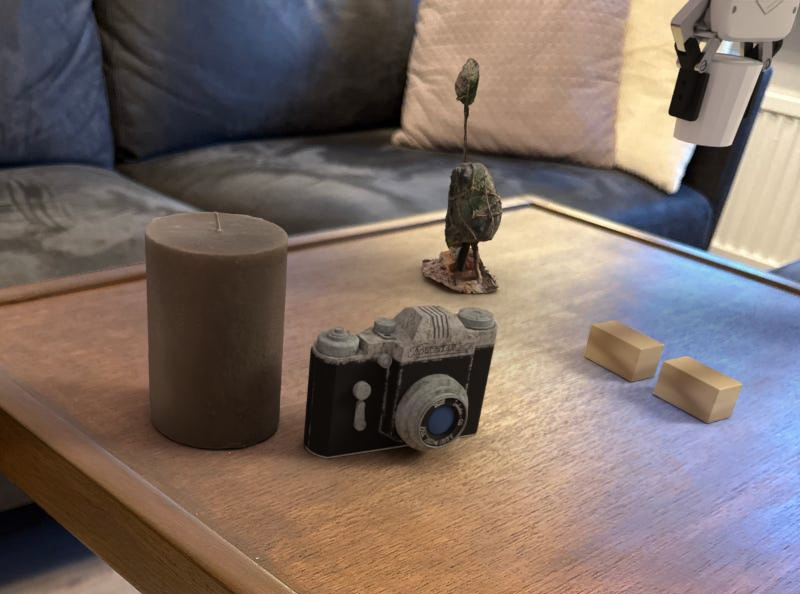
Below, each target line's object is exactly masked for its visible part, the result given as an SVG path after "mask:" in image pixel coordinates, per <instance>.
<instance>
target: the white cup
mask: <svg viewBox="0 0 800 594" xmlns="http://www.w3.org/2000/svg"><path fill="white" fill-rule="evenodd" d="M762 67H763V63H762V62H759V61H757V60H754V59H751V58H748V57H743V56H740V55H738V54H731V53H723V52H716V53H715V55H714V57H713V59H712V60H711V62H710V64H709V66H708V67H707V69H706V71H705V73H709V74H710V76H709V81H708V84H707V88H706V91H705V95H704V98H703V102H702V105H701V109H700V112H699V116H698V118H697V120H696V121H691V122H690V121H686V120H683V119H680V118H676V117H675V124H674V128H673V135H672V136H673V138H674V139H676V140H678V141H681V142H683V143H688V144H692V145H697V146H704V147H715V148H724V147H729V146H732V145H733V142H734V139H735V137H736V135H737V133H738V130H739V127H740V124H741V122H742V119H743V118H742V117H743V115H744V112H745V109H746V107H747V104H748V102H749V99H750V97H751V94H752V92H753V89H754V87H755V84H756V82H757V79H758V77H759V74H760V72H761V69H762Z"/></svg>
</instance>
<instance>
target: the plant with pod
mask: <svg viewBox="0 0 800 594" xmlns="http://www.w3.org/2000/svg"><path fill="white" fill-rule="evenodd" d="M479 81H480V65H479V63H478V62H477V60H475V58H472V57H469V58H468V59H467V60H466V62H465V64H464V65H462V67H461V70H460V71H459V73H458V75H457V76H456V79H455V82H454V92H455V95H456V98H455V100H456V102H460V103H461V104H462V105H463V118H464V119H463V120H464V121H463V133H464V135H463V148H462V149H463V150H462V151H463V156H462V163H461V164H460V165H458V166H455V167H453V169H452V170H451V175H450V176H449V177H450V183H449V188H448V189H449V190H448V191H447V192H448V194H447V209H446V214H445V217H444V222H445V225H444V227H445V228H444V237H445V238H444V243H445V244H446V247H447V249H448V250H443V251H442V250H441V251H440V253H439V256H438V258H435V257H434V258H431V259H428V258H427V259H422V262H421V263H422V267H423V268H422V271H421V273H423V274H422V276H424V277H425V278H429V279H431V280H434V282H437V283H440V284H442V285H444V286H445V287H447V288H449V289H451V290H452V291H455V292H458V293H461V294H468V295H470V294H471V293H473V294H474V295H476V294H480V293H481V294H489V293H490V292H494V291H496V290H498V289H499V288H500V286H499V283H498V282H497V280H498V279H497V278H496V275H495V274H494V275H493V274H492V273H490V270H489V269H486V268H487V267H486V266H485V265H484V262H483V260H482V258H481V255H480V253H479V250H480V249H479V245H478V244H479V243H485V242H488V241H489V242H490V241H493V239H494V238H495V235H496V234H497V232H498V230H499V228H500V225H501V222H502V218H503V211H504V210H503V203H502V200H501V194H500V193H499V191H498V190H497V188H496V187H497V186H496V184H495V182H494V178H493V176H492V174H491V173H490V171H489V169H488V168H487V167H486V166H485V165H484V164H483V163H481V162H474V161H467V146H468V145H467V144H468V143H467V141H468V131H467V127H468V119H469V117H470V107H469V106H471V105H473V103H474V102H475V99H476V97H477V91H478V88H479ZM466 161H467V162H466Z"/></svg>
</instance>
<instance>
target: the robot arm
mask: <svg viewBox="0 0 800 594" xmlns="http://www.w3.org/2000/svg"><path fill="white" fill-rule="evenodd" d="M799 6H800V0H688V1H687V2H686V3H684V6H682V7H681V8H680V9H679V11H677V13H676V14H675V15H674V16H673V17H672V19H671V21H670V30H671V34H672V38H673V41H674V51H675V54H676V57H677V58H676V62H675V65H676V67H677V68H678V73H677V77H676V80H675V84H674V87H673V92H672V96H671V99H670V103H669V107H668V111H667V112H668V113H667V114H668V116H670V117H674V118H675V119H676V118H680V119H683V120H686V121H690V122H691V121H696V120H697V118H698V116H699V112H700V109H701V105H702V102H703V98H704V95H705V91H706V88H707V84H708V81H709V76H710V74H709V73H705V71H706V69H707V67H708V66H709V64H710V62H711V60H712V59H713V57H714V55H715V53H718V51H719V48H720V46H721V45H722V44H723V42H724V41H725V42H728V43H729V42H730V43H739V56H743V57H748V58H751V59H754V60H757V61H759V62H762V63H763V67H762V69H761V72H760V74H759V77H758V79H757V82H756V84H755V87H754V89H753V92H752V94H751V97H750V99H749V102H748V104H747V107H746V109H745V112H744V115H743V117H742V119H748V118H750V117H751V116H752V112H753V109H754V106H755V103H756V100H757V97H758V94H759V93H758V92H759V90H760V87H761V83H762V81H763V78H764V74H765V72H767V71H768V70H769V69H770V67H771V66H772V62H773V58H774V57H775V56H776V55H777V54H778V53H779V51H780V50H781V48H782V47H783V44H784V43H785V41H786V40H787V39H788V37H789V36H790V35H791V34H792V32H794V30H795V28H796V27H797V25H798V19H797V14H798V10H799ZM701 43H705V45H704V47H703V48H702V50H701V47H700V45H701ZM754 44H755V45H754Z"/></svg>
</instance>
